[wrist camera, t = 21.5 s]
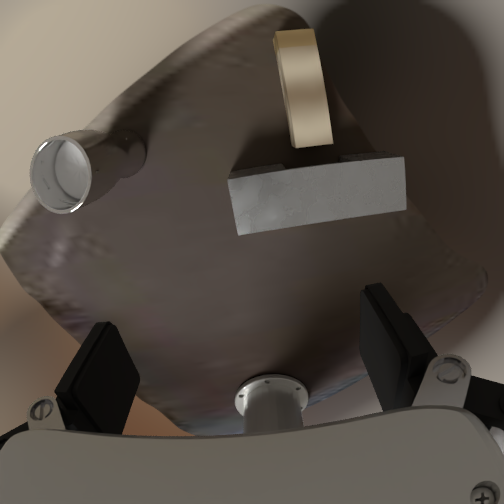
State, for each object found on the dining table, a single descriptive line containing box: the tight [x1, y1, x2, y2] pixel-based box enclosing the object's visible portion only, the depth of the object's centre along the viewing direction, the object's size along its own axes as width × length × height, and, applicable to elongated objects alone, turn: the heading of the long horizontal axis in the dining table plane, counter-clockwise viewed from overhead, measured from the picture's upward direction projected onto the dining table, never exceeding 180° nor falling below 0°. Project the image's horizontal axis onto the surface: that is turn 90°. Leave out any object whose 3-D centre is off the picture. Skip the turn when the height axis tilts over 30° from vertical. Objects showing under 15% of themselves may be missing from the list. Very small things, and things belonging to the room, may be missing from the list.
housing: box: [227, 151, 406, 235], centre depth 35 cm, size 6×19×6 cm, turn 100°
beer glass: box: [30, 130, 146, 214], centre depth 29 cm, size 7×7×15 cm
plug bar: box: [273, 29, 333, 148], centre depth 31 cm, size 13×4×4 cm, turn 10°
